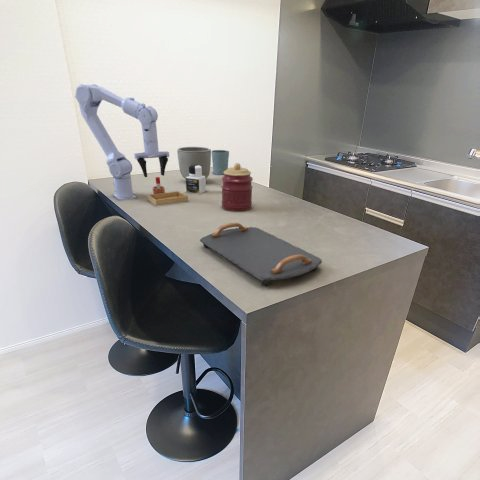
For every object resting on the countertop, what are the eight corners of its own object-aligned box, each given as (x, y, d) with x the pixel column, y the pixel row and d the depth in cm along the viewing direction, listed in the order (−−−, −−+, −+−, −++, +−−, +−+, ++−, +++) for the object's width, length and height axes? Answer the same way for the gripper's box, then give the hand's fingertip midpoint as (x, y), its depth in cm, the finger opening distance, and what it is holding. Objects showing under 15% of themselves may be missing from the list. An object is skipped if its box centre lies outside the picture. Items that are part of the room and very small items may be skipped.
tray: (147, 200, 157) (147, 195, 156) (178, 196, 164) (178, 191, 163) (156, 206, 150) (155, 200, 149) (188, 201, 157) (187, 196, 156)
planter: (194, 176, 199) (192, 145, 190) (218, 181, 191) (217, 149, 182) (172, 182, 187) (169, 149, 178) (196, 187, 179) (195, 153, 170)
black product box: (186, 192, 170) (184, 166, 164) (193, 189, 176) (192, 163, 169) (199, 194, 168) (198, 167, 161) (206, 191, 174) (205, 164, 167)
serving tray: (194, 244, 116) (193, 226, 112) (250, 232, 127) (251, 214, 124) (267, 293, 90) (268, 271, 86) (330, 272, 101) (334, 252, 97)
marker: (156, 195, 163) (154, 177, 159) (160, 194, 164) (158, 176, 159) (158, 196, 162) (156, 178, 157) (162, 195, 163) (160, 177, 158)
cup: (152, 196, 164) (150, 186, 161) (162, 194, 166) (161, 185, 164) (156, 198, 160) (155, 189, 158) (167, 197, 162) (166, 188, 160)
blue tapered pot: (210, 174, 205) (209, 151, 199) (214, 171, 214) (213, 149, 207) (227, 175, 204) (227, 152, 197) (230, 172, 212) (230, 150, 206)
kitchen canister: (257, 207, 152) (260, 163, 143) (237, 213, 145) (238, 167, 135) (236, 201, 160) (236, 159, 150) (215, 206, 152) (214, 162, 142)
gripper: (136, 143, 139) (140, 179, 146) (170, 141, 145) (173, 176, 153) (130, 140, 144) (135, 176, 151) (164, 139, 150) (167, 173, 158)
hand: (154, 176), depth 153 cm, fingers open, 7 cm apart
